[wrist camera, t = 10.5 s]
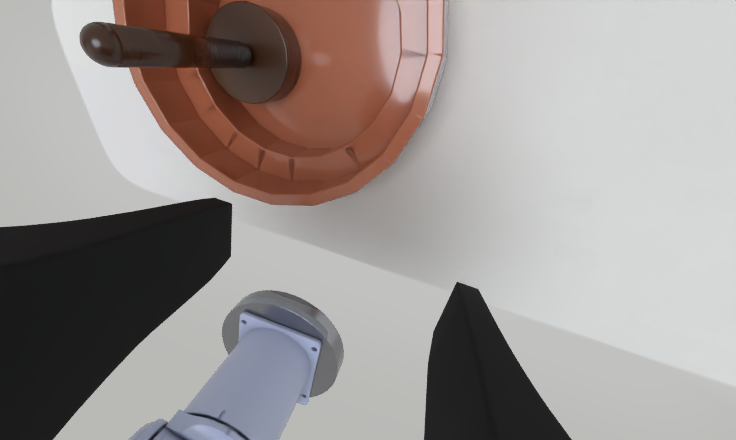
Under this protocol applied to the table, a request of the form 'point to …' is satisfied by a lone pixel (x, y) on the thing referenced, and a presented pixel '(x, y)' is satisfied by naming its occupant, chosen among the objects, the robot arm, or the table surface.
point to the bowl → (302, 95)
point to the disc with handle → (211, 50)
